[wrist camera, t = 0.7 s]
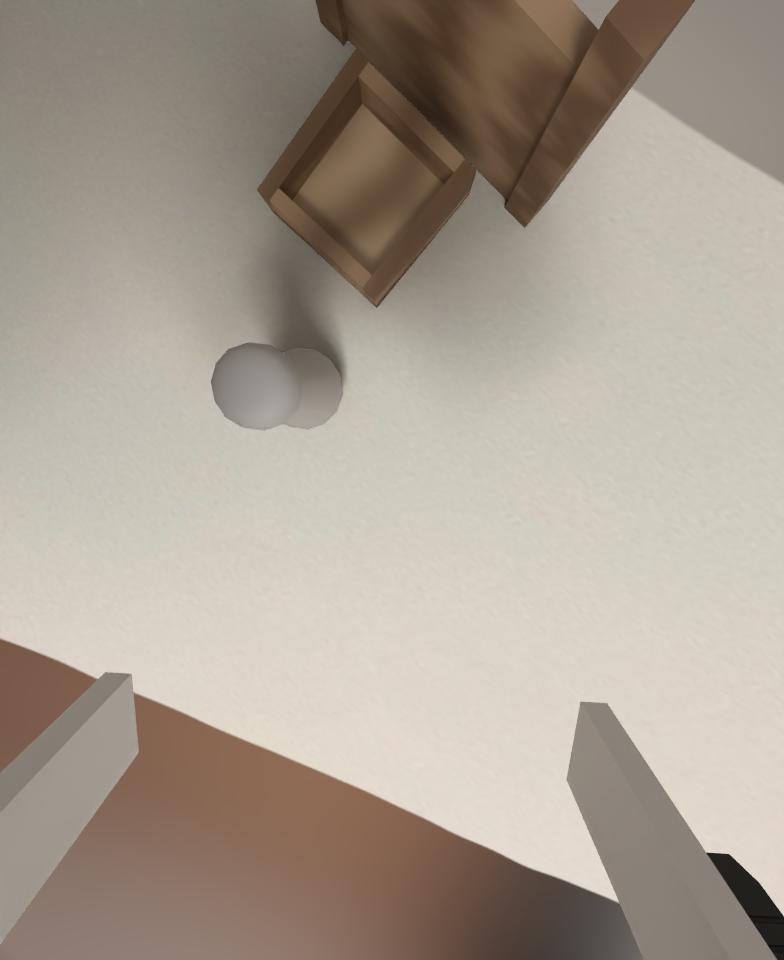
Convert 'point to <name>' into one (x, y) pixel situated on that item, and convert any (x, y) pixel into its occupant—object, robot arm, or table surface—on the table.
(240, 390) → the salt shaker
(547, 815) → the table surface
